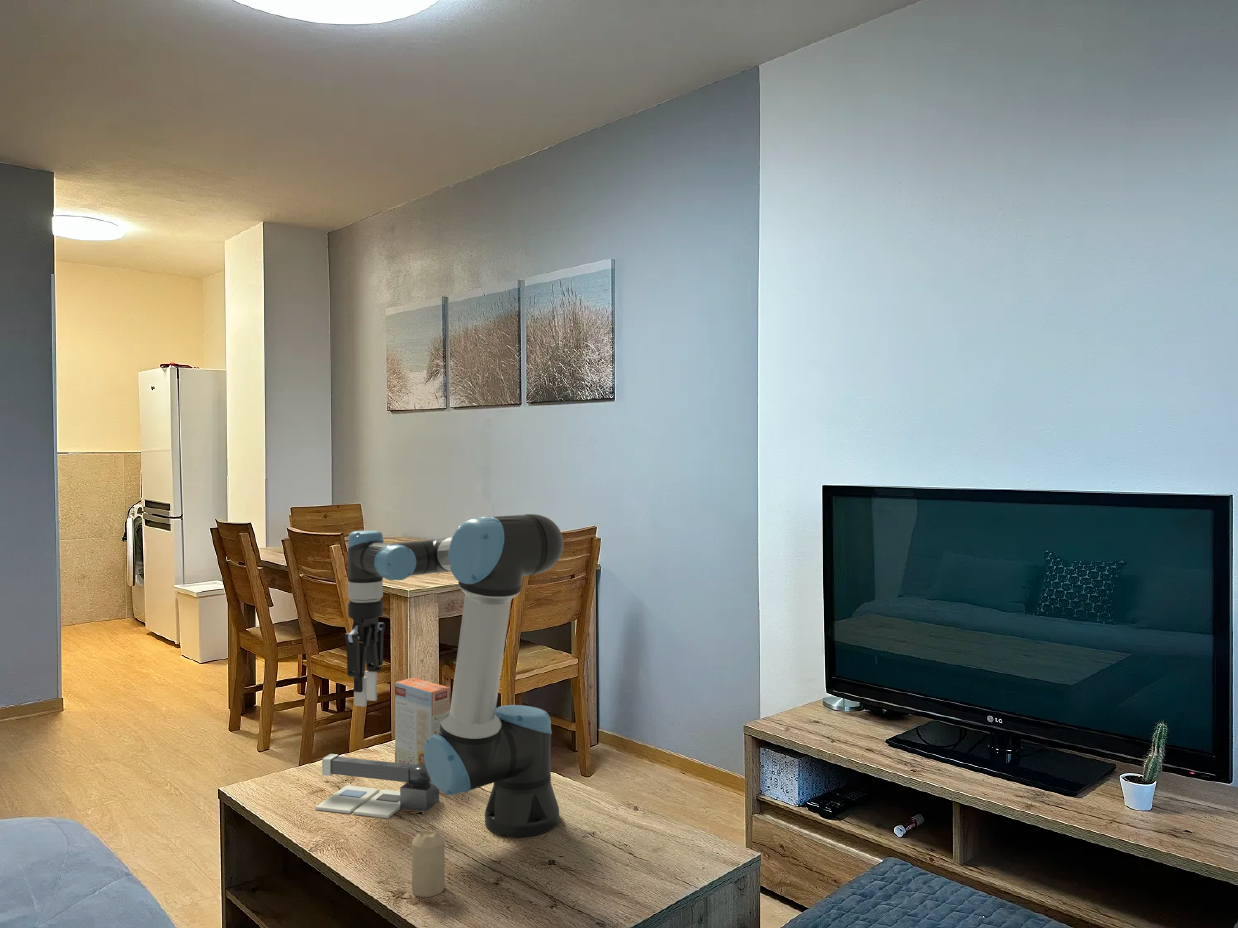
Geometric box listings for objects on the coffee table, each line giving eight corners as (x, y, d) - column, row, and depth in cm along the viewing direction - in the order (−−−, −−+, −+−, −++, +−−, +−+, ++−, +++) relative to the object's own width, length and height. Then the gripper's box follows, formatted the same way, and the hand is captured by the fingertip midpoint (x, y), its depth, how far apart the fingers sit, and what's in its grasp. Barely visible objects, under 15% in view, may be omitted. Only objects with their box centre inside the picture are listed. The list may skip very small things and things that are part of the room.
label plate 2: (415, 795, 192) (415, 792, 192) (388, 818, 180) (388, 814, 180) (382, 791, 194) (382, 788, 194) (353, 814, 182) (353, 810, 182)
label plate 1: (378, 791, 194) (378, 787, 194) (349, 813, 183) (349, 809, 183) (346, 787, 196) (346, 784, 196) (315, 809, 185) (315, 805, 185)
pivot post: (438, 800, 190) (438, 779, 189) (426, 811, 184) (426, 790, 184) (413, 797, 191) (413, 777, 191) (400, 808, 185) (400, 787, 185)
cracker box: (451, 775, 204) (451, 686, 203) (430, 783, 199) (430, 692, 198) (414, 761, 213) (414, 675, 212) (393, 768, 208) (393, 680, 208)
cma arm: (433, 779, 189) (433, 763, 189) (424, 787, 185) (424, 770, 185) (332, 768, 195) (332, 752, 195) (320, 775, 191) (320, 759, 191)
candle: (446, 881, 155) (447, 825, 155) (441, 897, 149) (441, 839, 149) (415, 881, 155) (415, 825, 154) (409, 897, 149) (409, 839, 149)
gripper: (370, 592, 206) (370, 691, 207) (329, 605, 190) (329, 712, 191) (398, 594, 205) (398, 693, 205) (360, 606, 188) (360, 715, 189)
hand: (365, 702), depth 198 cm, fingers open, 4 cm apart
